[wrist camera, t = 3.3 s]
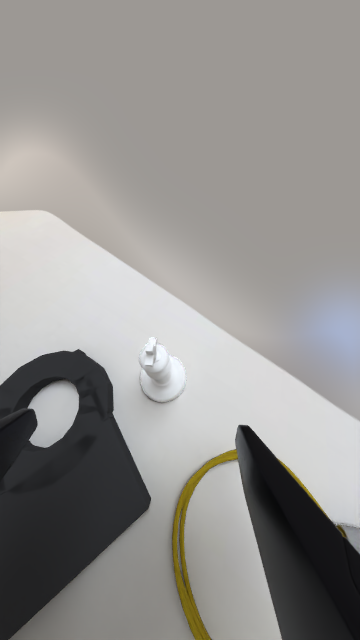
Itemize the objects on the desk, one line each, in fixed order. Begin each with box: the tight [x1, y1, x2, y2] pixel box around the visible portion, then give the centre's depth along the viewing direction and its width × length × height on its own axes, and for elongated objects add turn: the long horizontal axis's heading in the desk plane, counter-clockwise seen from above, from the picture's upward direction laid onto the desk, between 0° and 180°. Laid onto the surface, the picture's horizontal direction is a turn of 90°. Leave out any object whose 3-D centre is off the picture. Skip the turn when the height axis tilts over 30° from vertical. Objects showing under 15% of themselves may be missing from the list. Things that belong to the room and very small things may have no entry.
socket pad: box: [0, 349, 151, 640], centre depth 15 cm, size 17×13×2 cm
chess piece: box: [139, 337, 186, 402], centre depth 14 cm, size 5×5×10 cm
